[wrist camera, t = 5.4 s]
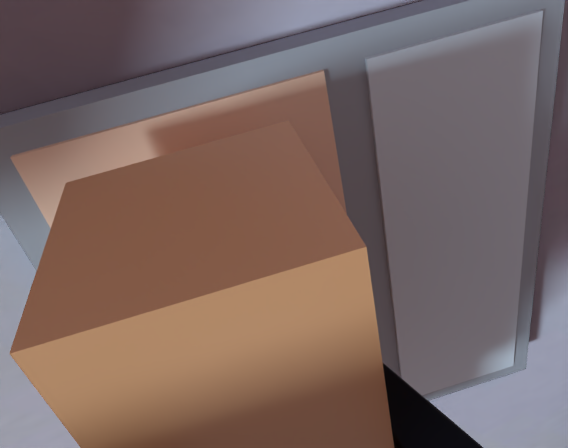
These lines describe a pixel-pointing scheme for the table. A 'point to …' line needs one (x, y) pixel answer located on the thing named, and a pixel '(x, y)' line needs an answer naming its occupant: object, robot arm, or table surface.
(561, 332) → the table surface
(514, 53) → the picture board
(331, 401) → the orange rectangular block
